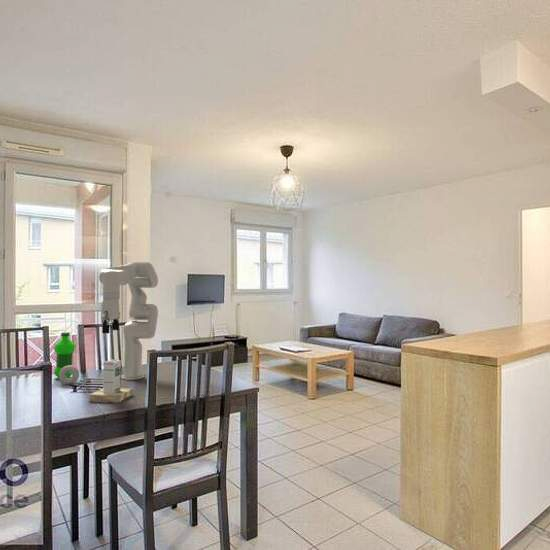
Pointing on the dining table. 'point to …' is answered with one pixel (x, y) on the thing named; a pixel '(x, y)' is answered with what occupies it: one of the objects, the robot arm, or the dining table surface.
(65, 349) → the plastic bottle
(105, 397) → the beech base
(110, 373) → the syrup box
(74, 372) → the donut
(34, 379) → the dining table surface
